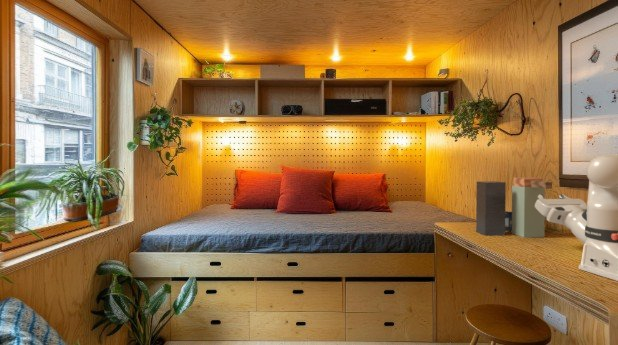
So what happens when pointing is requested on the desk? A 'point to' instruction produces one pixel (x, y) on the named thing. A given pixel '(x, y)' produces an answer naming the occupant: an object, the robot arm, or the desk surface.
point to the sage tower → (527, 212)
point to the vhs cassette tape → (508, 221)
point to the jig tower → (490, 208)
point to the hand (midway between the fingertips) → (550, 195)
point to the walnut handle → (532, 183)
